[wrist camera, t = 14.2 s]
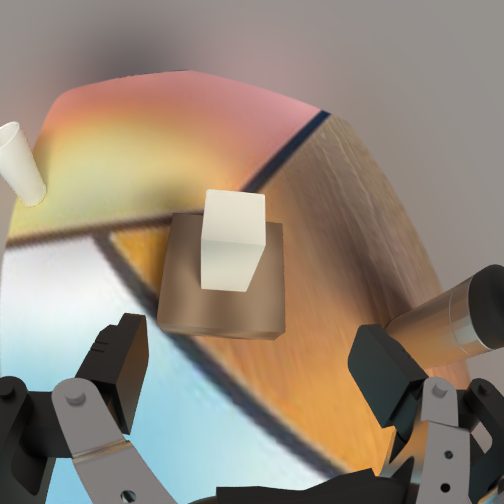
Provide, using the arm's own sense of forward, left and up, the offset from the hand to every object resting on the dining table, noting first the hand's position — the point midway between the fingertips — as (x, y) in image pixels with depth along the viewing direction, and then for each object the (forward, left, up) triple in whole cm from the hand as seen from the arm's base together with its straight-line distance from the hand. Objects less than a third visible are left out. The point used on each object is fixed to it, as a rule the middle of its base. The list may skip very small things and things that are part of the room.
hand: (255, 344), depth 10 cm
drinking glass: (+30, -30, -26) cm, 50 cm away
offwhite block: (-2, -11, -20) cm, 23 cm away
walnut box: (-2, -11, -26) cm, 29 cm away
